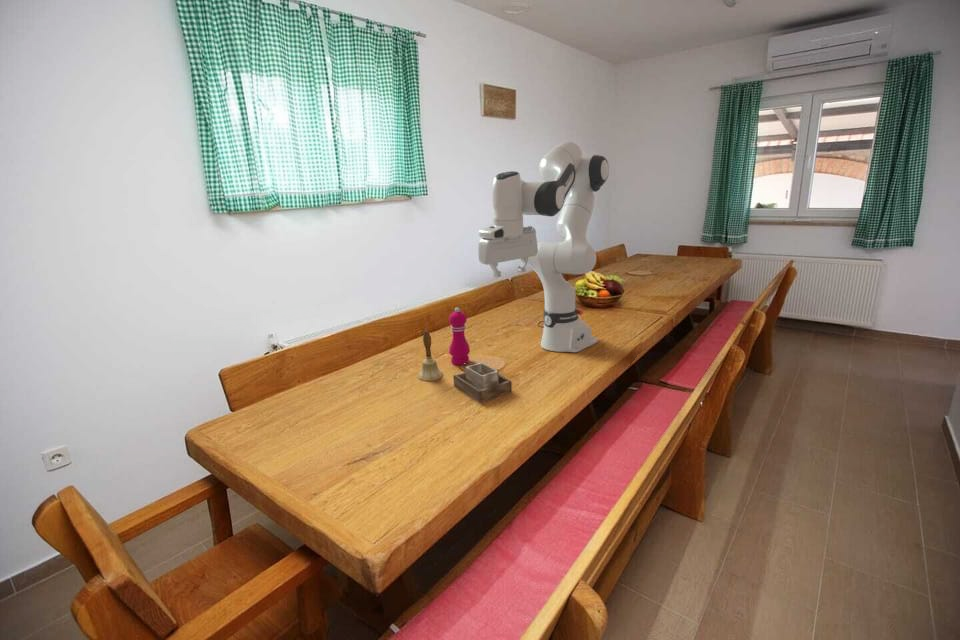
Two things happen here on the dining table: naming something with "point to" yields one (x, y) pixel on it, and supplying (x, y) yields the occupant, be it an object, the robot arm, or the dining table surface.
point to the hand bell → (429, 362)
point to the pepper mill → (458, 338)
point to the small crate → (481, 376)
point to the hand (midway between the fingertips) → (509, 274)
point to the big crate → (485, 393)
